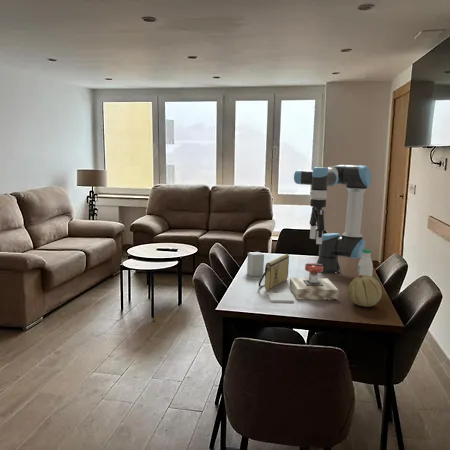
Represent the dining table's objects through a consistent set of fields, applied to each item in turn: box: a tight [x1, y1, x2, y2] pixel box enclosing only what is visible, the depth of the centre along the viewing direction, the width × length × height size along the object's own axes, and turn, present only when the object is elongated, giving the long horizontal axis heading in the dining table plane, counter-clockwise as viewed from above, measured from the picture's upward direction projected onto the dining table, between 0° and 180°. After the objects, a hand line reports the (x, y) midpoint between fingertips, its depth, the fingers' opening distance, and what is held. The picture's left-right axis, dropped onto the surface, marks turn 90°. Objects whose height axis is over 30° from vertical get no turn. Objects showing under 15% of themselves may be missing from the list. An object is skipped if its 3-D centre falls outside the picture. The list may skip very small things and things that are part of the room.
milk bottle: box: [356, 248, 374, 277], centre depth 235 cm, size 8×8×20 cm
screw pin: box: [304, 262, 324, 284], centre depth 218 cm, size 9×9×15 cm
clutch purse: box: [258, 253, 290, 292], centre depth 231 cm, size 30×7×15 cm, turn 151°
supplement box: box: [246, 251, 265, 277], centre depth 250 cm, size 7×7×13 cm
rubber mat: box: [267, 292, 295, 304], centre depth 209 cm, size 11×11×1 cm
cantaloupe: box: [348, 275, 383, 308], centre depth 201 cm, size 15×15×15 cm
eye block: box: [289, 277, 339, 301], centre depth 219 cm, size 20×20×6 cm
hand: (315, 241), depth 215 cm, fingers open, 13 cm apart
